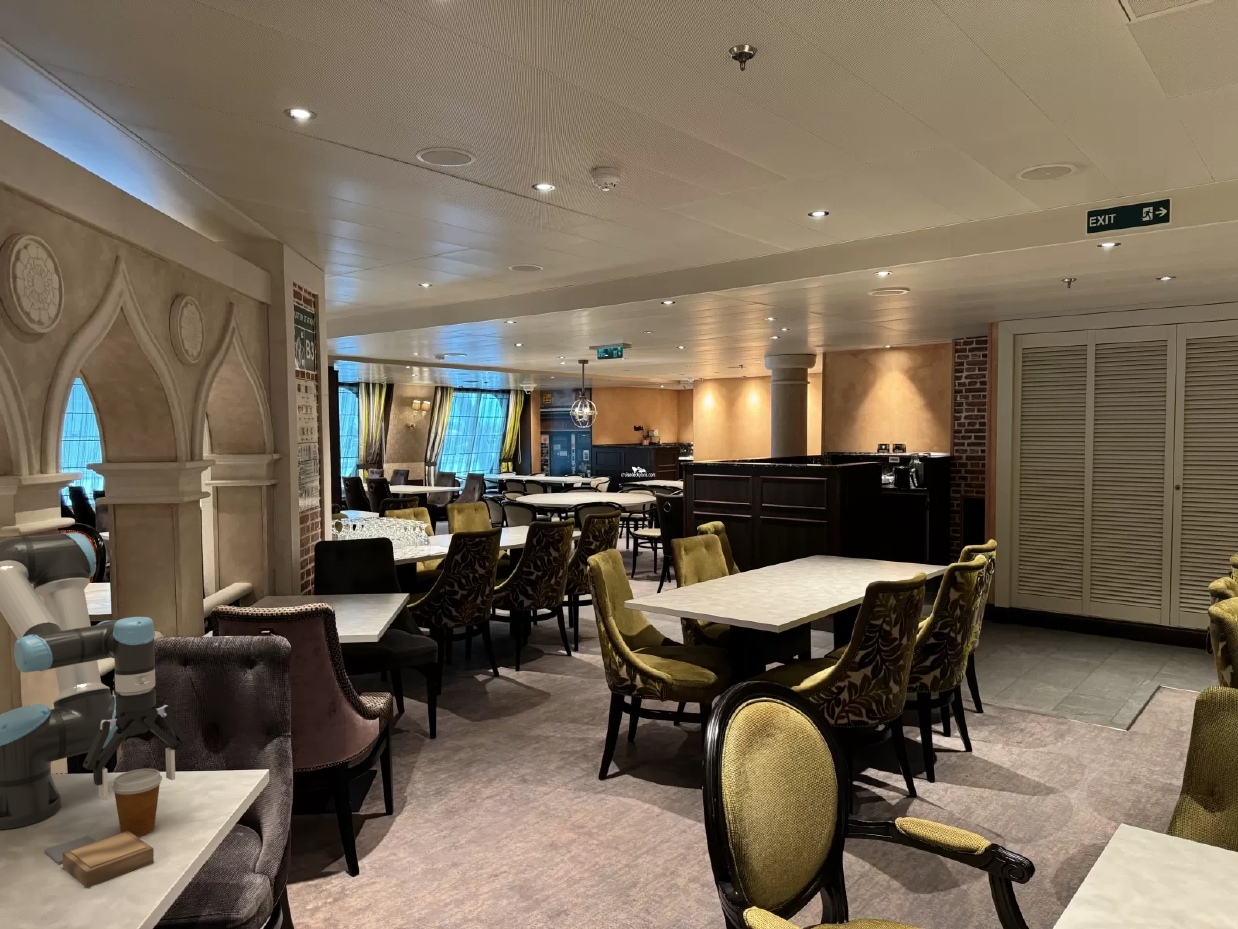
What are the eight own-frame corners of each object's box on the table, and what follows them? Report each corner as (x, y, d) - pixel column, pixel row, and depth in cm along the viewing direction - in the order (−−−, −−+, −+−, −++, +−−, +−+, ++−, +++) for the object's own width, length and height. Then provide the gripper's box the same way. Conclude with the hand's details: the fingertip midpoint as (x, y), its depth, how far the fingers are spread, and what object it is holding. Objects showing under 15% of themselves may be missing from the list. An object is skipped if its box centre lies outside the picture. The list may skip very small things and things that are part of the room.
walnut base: (62, 867, 168) (62, 851, 168) (128, 845, 177) (127, 829, 177) (87, 887, 161) (86, 870, 160) (153, 862, 170) (153, 846, 170)
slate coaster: (44, 852, 174) (44, 849, 174) (87, 838, 180) (87, 835, 180) (59, 864, 169) (59, 861, 169) (103, 849, 175) (103, 846, 175)
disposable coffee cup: (140, 843, 178) (139, 787, 178) (101, 839, 180) (100, 783, 180) (173, 823, 187) (172, 769, 187) (135, 819, 189) (134, 766, 189)
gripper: (77, 708, 170) (80, 813, 171) (202, 680, 190) (204, 774, 191) (63, 701, 175) (66, 803, 176) (186, 675, 195) (188, 767, 195)
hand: (138, 788), depth 183 cm, fingers open, 13 cm apart
